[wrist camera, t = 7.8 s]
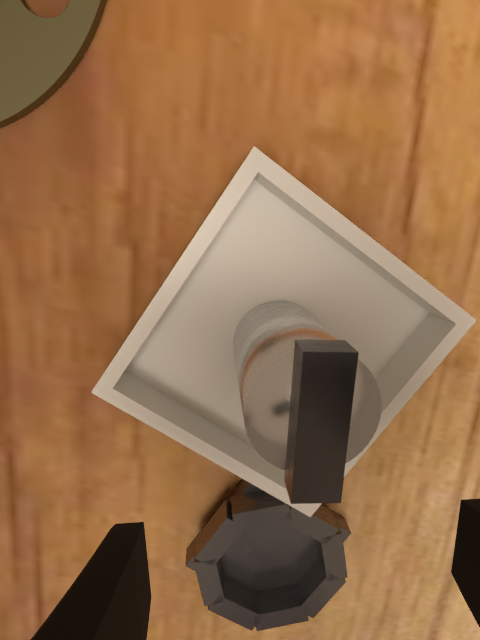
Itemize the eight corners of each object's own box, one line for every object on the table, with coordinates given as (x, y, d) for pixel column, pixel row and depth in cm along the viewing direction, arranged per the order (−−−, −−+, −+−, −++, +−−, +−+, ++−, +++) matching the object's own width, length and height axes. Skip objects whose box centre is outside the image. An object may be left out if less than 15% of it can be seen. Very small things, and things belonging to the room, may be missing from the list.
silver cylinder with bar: (317, 389, 18) (385, 502, 11) (231, 389, 18) (243, 504, 10) (326, 296, 17) (408, 353, 10) (234, 294, 17) (250, 350, 9)
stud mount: (357, 515, 20) (374, 549, 18) (279, 605, 22) (286, 647, 20) (250, 452, 19) (255, 481, 17) (173, 552, 20) (168, 591, 18)
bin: (441, 306, 18) (476, 320, 15) (298, 480, 20) (310, 517, 17) (248, 157, 16) (254, 146, 13) (107, 368, 18) (91, 392, 15)
